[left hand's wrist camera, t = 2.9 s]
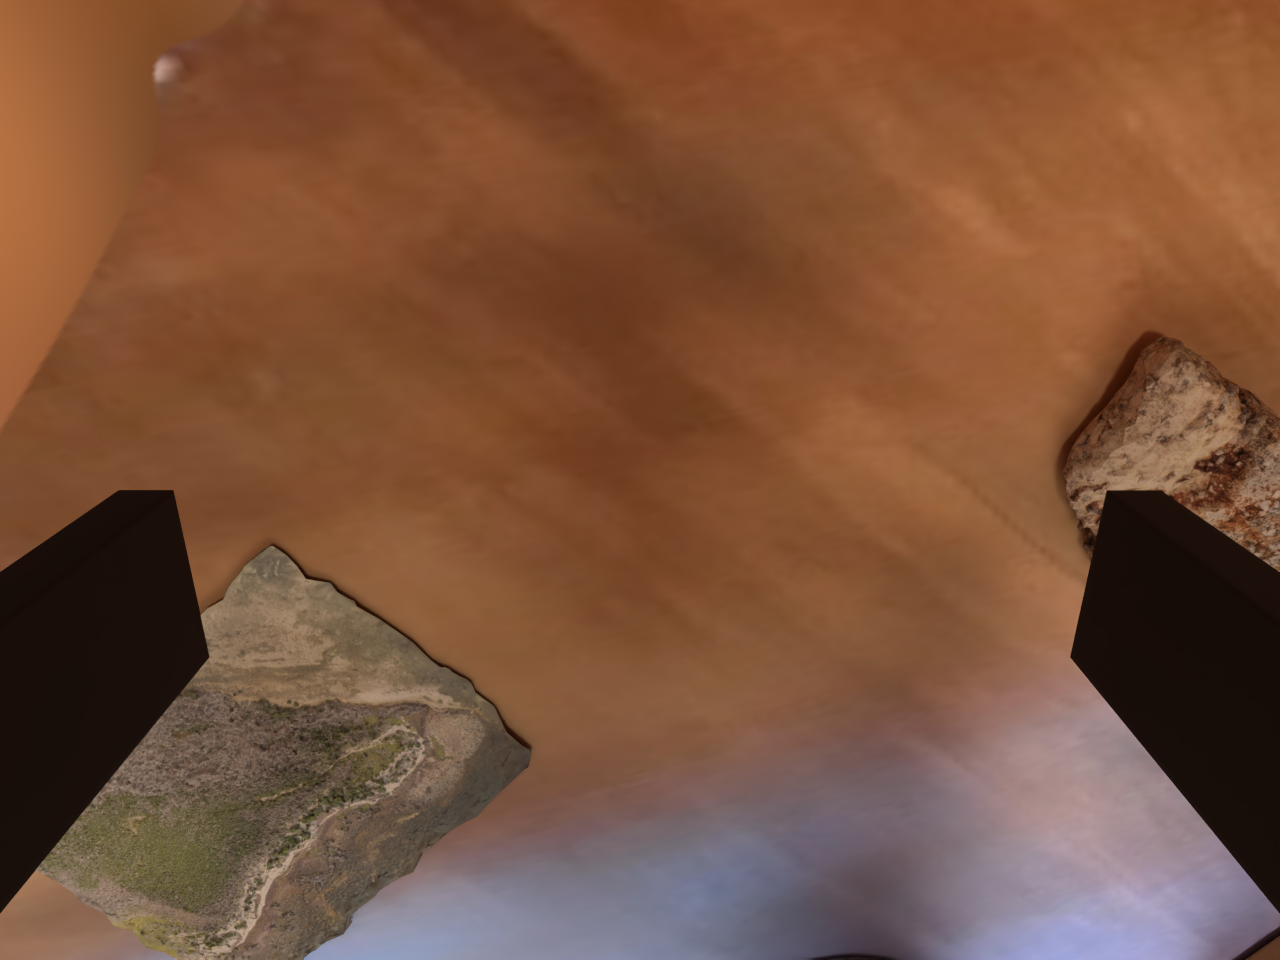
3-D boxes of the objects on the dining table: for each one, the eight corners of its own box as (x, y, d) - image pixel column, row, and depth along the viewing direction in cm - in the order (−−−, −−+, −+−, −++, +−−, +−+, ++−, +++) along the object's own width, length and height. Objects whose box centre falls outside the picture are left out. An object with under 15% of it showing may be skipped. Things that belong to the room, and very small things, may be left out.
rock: (1373, 496, 42) (1480, 549, 37) (1212, 646, 45) (1289, 714, 40) (1155, 322, 39) (1238, 353, 34) (997, 496, 42) (1050, 550, 37)
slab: (275, 1007, 55) (269, 1021, 55) (-16, 847, 51) (-27, 860, 50) (555, 741, 48) (553, 752, 47) (243, 521, 43) (235, 529, 42)
